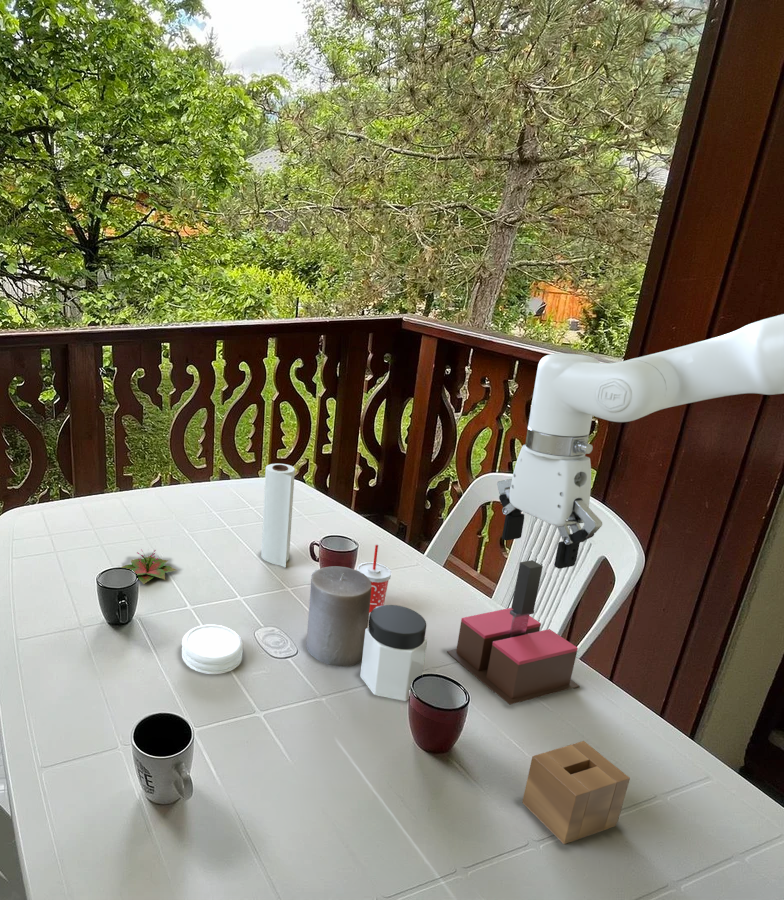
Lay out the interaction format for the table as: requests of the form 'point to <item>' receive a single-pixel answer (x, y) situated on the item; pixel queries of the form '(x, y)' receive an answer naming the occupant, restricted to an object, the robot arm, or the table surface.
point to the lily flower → (149, 567)
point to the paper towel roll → (277, 513)
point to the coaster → (212, 649)
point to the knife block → (575, 791)
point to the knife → (524, 596)
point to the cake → (514, 657)
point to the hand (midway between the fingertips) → (536, 552)
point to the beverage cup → (376, 580)
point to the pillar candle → (338, 615)
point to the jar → (393, 651)
